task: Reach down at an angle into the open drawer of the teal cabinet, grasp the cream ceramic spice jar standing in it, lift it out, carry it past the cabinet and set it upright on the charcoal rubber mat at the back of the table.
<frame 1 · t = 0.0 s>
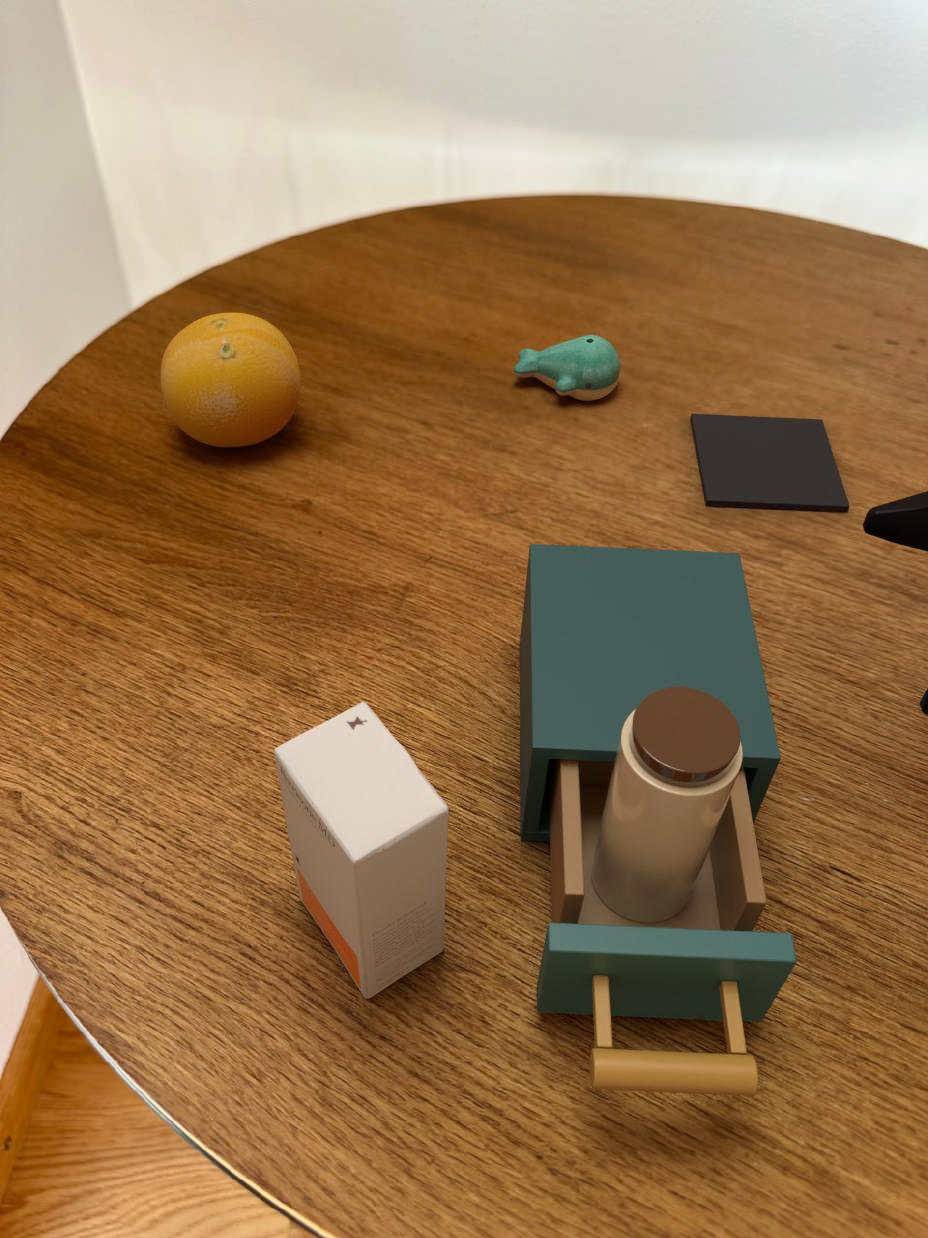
hand: (892, 602, 40), 16 cm above the table, tool horizontal, fingers open, 9 cm apart
spice jar: (641, 875, 48), point 2 cm above the table, touching drawer
cosmetic box: (371, 928, 48), on the table
mat: (765, 463, 71), on the table
fruit: (239, 433, 72), on the table
whale figurine: (565, 385, 77), on the table
drawer: (652, 904, 45), point 4 cm above the table, slide at 7.5 cm, touching spice jar
cabinet: (622, 738, 56), on the table
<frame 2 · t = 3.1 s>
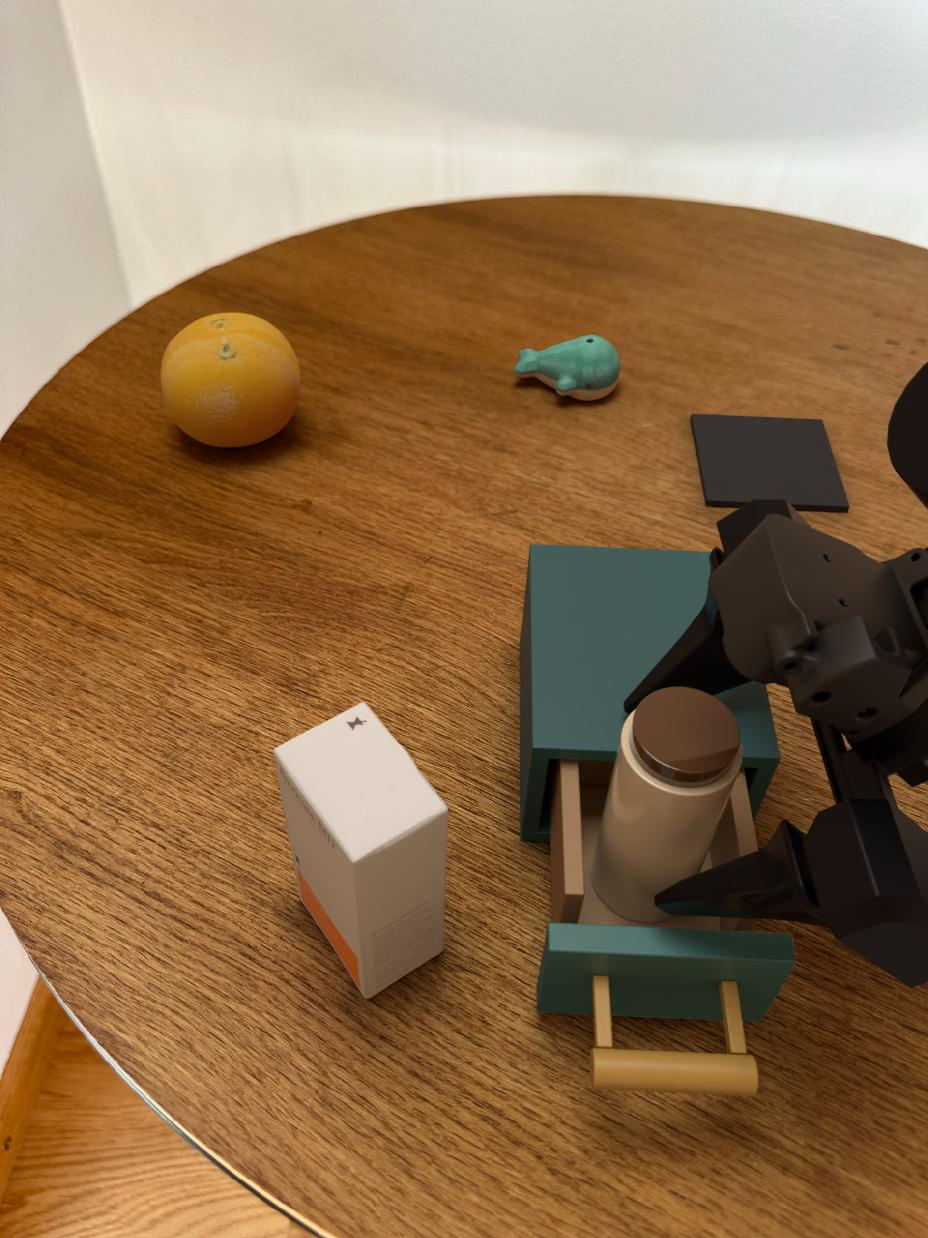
hand: (643, 802, 44), 8 cm above the table, tool tilted 45°, fingers open, 9 cm apart
nothing on the table moved.
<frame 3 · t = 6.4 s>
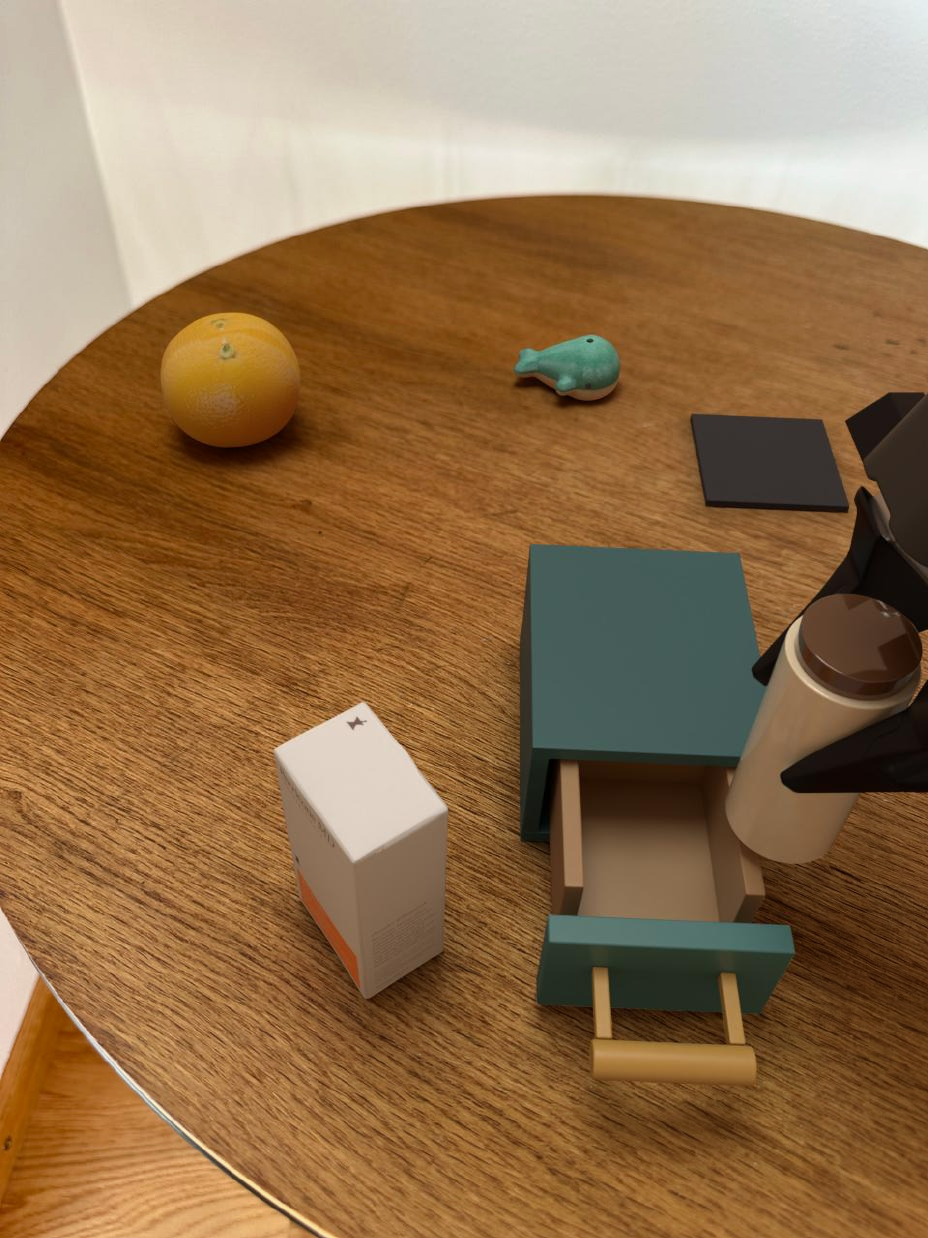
hand: (771, 728, 40), 13 cm above the table, tool tilted 45°, fingers closed on spice jar, 4 cm apart
spice jar: (781, 814, 44), point 7 cm above the table, touching gripper
drawer: (652, 897, 45), point 4 cm above the table, slide at 7.2 cm
everything else where it was.
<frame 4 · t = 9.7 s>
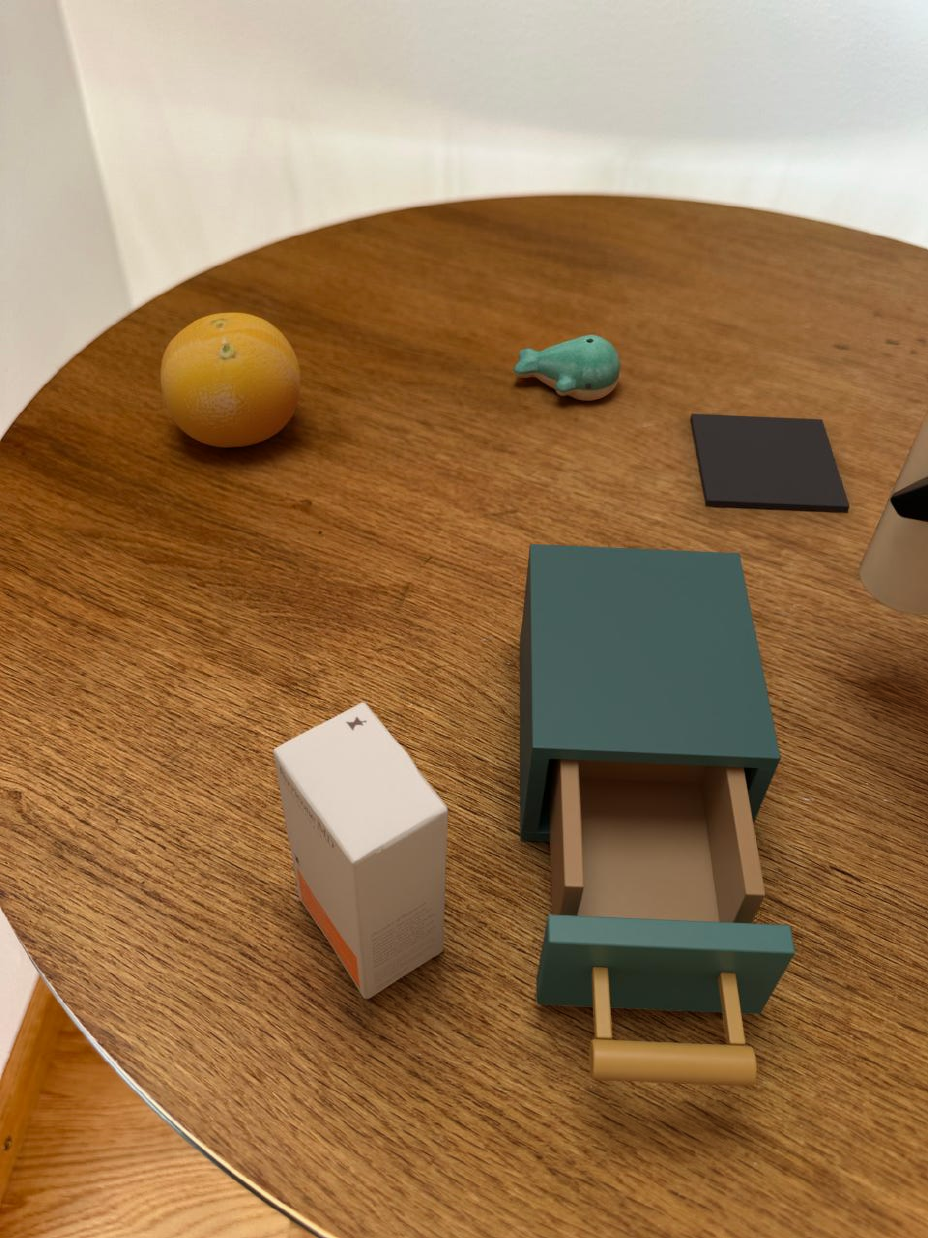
hand: (910, 476, 50), 13 cm above the table, tool tilted 45°, fingers closed on spice jar, 4 cm apart
spice jar: (906, 581, 53), point 8 cm above the table, touching gripper
everything else where it was.
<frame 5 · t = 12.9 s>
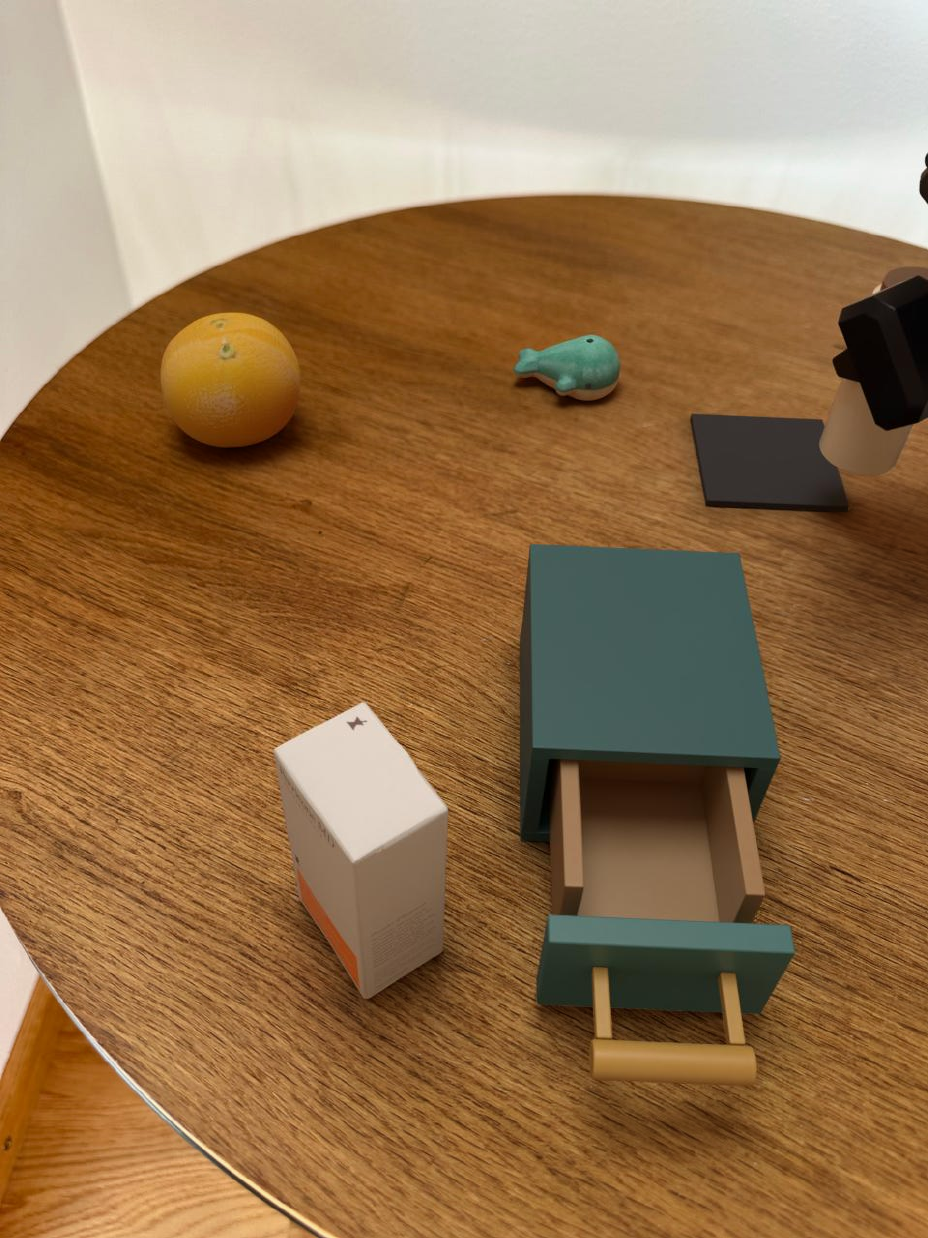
hand: (865, 353, 61), 11 cm above the table, tool tilted 45°, fingers closed on spice jar, 4 cm apart
spice jar: (857, 451, 64), point 5 cm above the table, touching gripper
everything else where it was.
when the fingers open (6 cm above the table, at t = 15.2 s): spice jar stays where it is, resting on mat.
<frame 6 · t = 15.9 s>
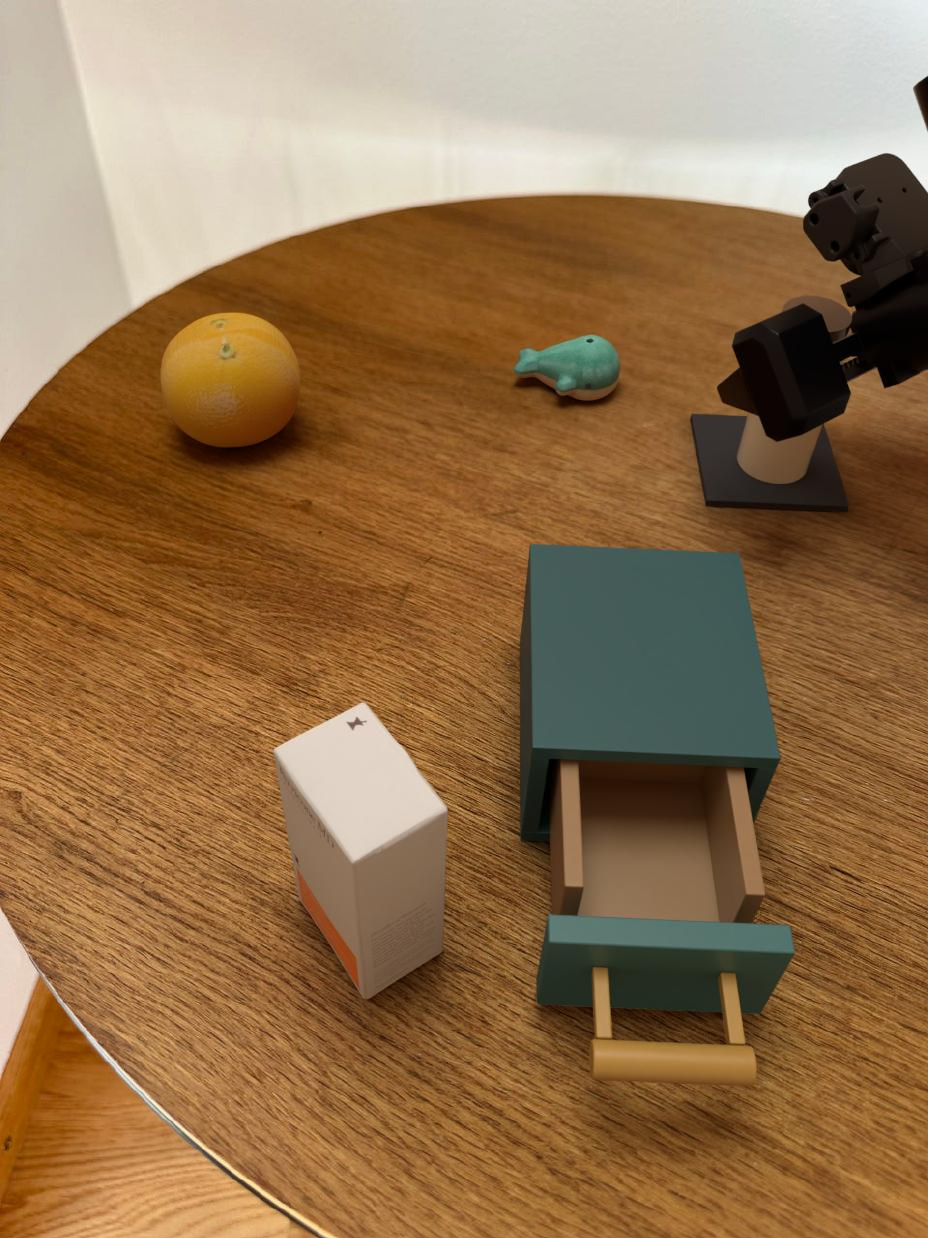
hand: (773, 369, 67), 7 cm above the table, tool tilted 45°, fingers open, 9 cm apart
spice jar: (771, 461, 71), resting on mat
everything else where it was.
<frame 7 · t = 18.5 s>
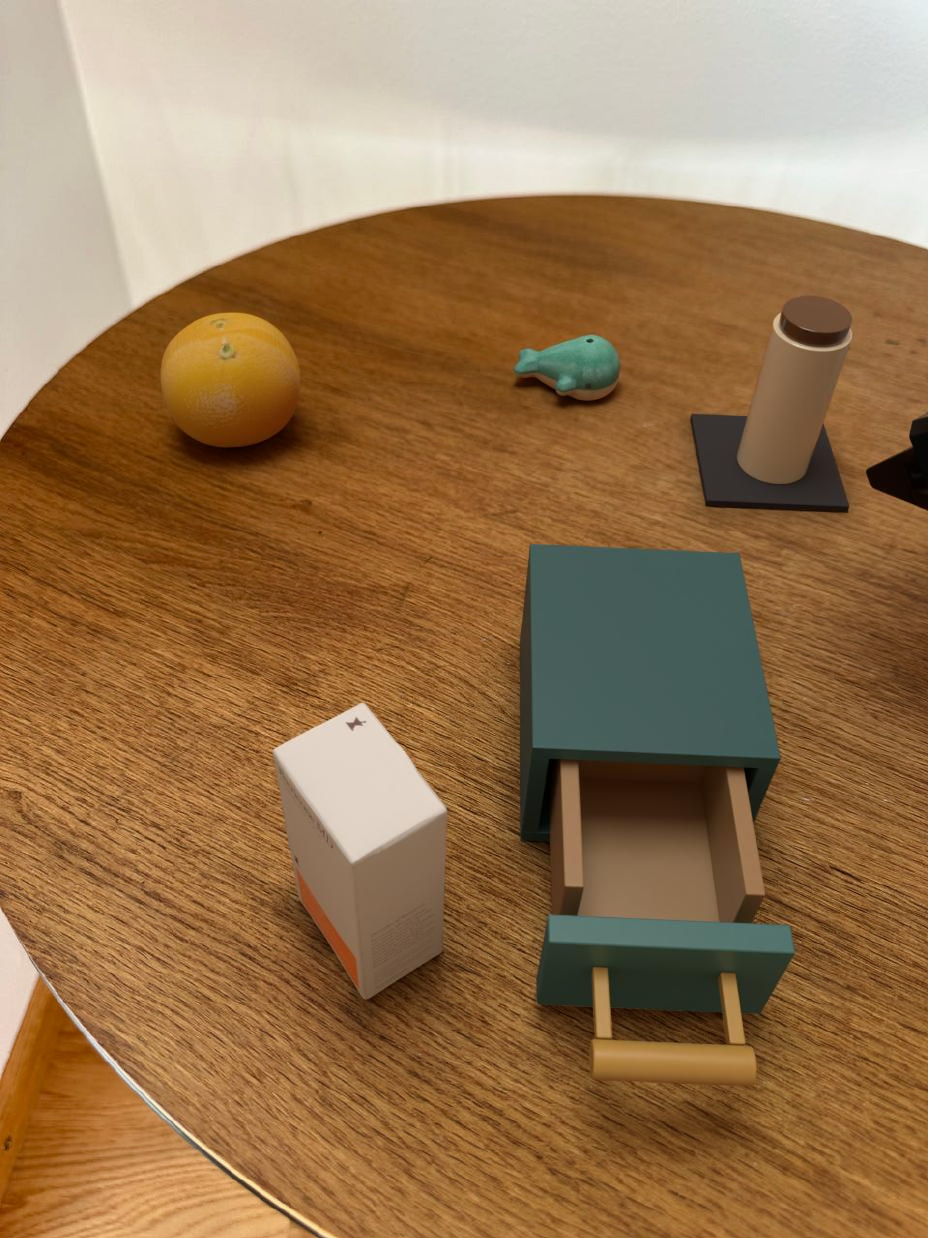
hand: (924, 447, 59), 9 cm above the table, tool tilted 45°, fingers open, 9 cm apart
nothing on the table moved.
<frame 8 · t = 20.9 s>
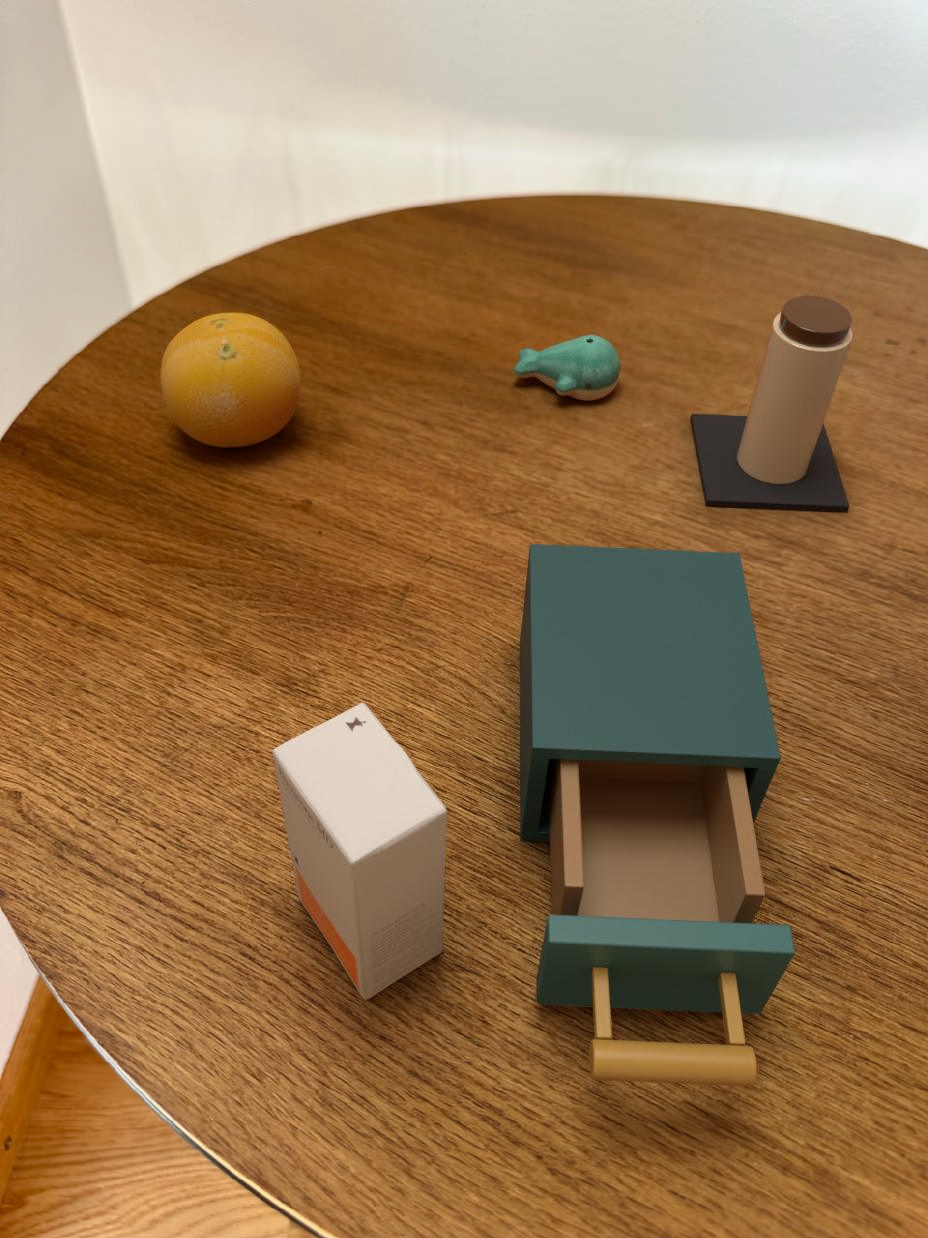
nothing on the table moved.
at the end: spice jar inside the target area on the mat (0.4 cm from its centre), point 0.5 cm above the mat's base; spice jar tilted 0°; the gripper is holding nothing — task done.
